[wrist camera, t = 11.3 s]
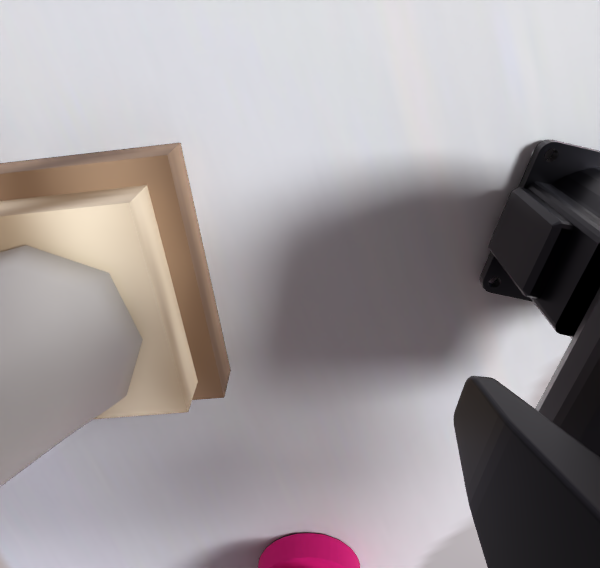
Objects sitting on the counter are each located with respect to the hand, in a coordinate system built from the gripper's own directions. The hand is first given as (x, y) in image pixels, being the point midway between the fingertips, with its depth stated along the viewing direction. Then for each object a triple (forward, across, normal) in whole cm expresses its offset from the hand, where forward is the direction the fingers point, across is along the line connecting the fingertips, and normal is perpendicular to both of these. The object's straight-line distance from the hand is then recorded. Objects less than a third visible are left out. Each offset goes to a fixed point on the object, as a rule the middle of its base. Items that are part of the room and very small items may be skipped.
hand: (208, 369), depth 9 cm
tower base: (+13, +7, +6) cm, 16 cm away
